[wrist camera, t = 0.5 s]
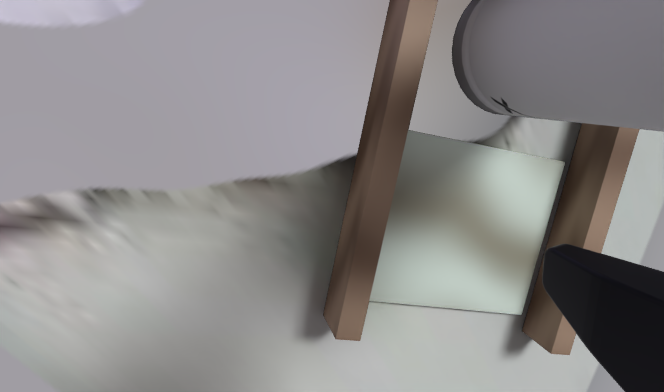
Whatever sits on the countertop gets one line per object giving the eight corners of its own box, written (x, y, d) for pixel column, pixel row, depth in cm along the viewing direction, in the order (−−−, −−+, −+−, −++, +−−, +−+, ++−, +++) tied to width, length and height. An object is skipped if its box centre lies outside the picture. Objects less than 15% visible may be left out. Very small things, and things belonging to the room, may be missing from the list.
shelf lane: (539, 332, 28) (622, 394, 23) (323, 314, 25) (358, 383, 19) (649, -40, 25) (779, -76, 19) (416, -126, 21) (494, -202, 16)
